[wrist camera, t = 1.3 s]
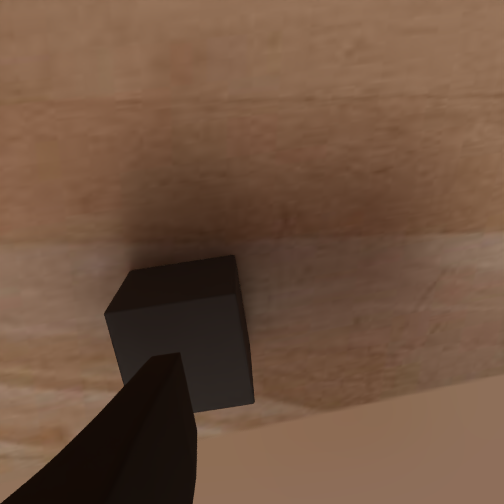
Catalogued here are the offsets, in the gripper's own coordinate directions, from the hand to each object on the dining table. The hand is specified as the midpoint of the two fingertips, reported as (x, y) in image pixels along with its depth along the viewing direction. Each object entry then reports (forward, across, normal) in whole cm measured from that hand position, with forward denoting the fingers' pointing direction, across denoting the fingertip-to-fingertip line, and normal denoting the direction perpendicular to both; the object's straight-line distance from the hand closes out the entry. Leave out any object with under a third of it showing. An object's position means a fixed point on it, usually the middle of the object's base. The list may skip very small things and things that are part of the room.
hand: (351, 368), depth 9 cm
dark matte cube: (+9, +5, +2) cm, 11 cm away
